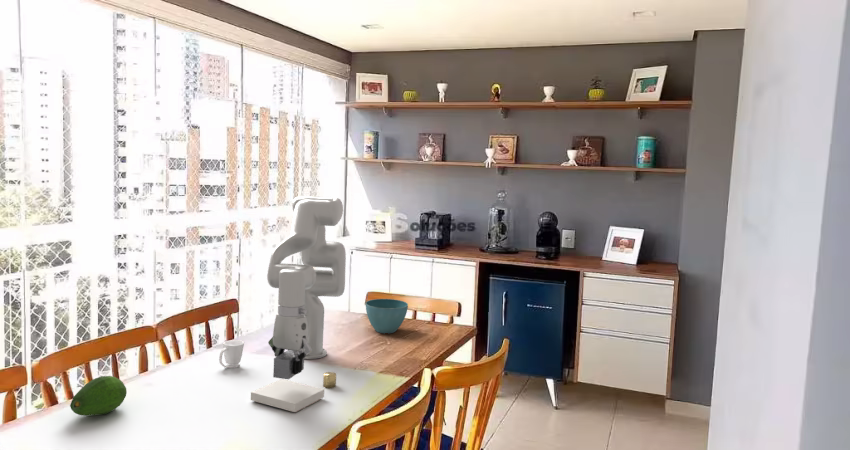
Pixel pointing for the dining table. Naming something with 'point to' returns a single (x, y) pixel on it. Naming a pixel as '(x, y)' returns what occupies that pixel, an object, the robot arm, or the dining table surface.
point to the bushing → (329, 380)
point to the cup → (232, 353)
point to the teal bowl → (386, 314)
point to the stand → (287, 395)
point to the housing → (285, 365)
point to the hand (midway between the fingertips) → (288, 370)
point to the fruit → (99, 396)
